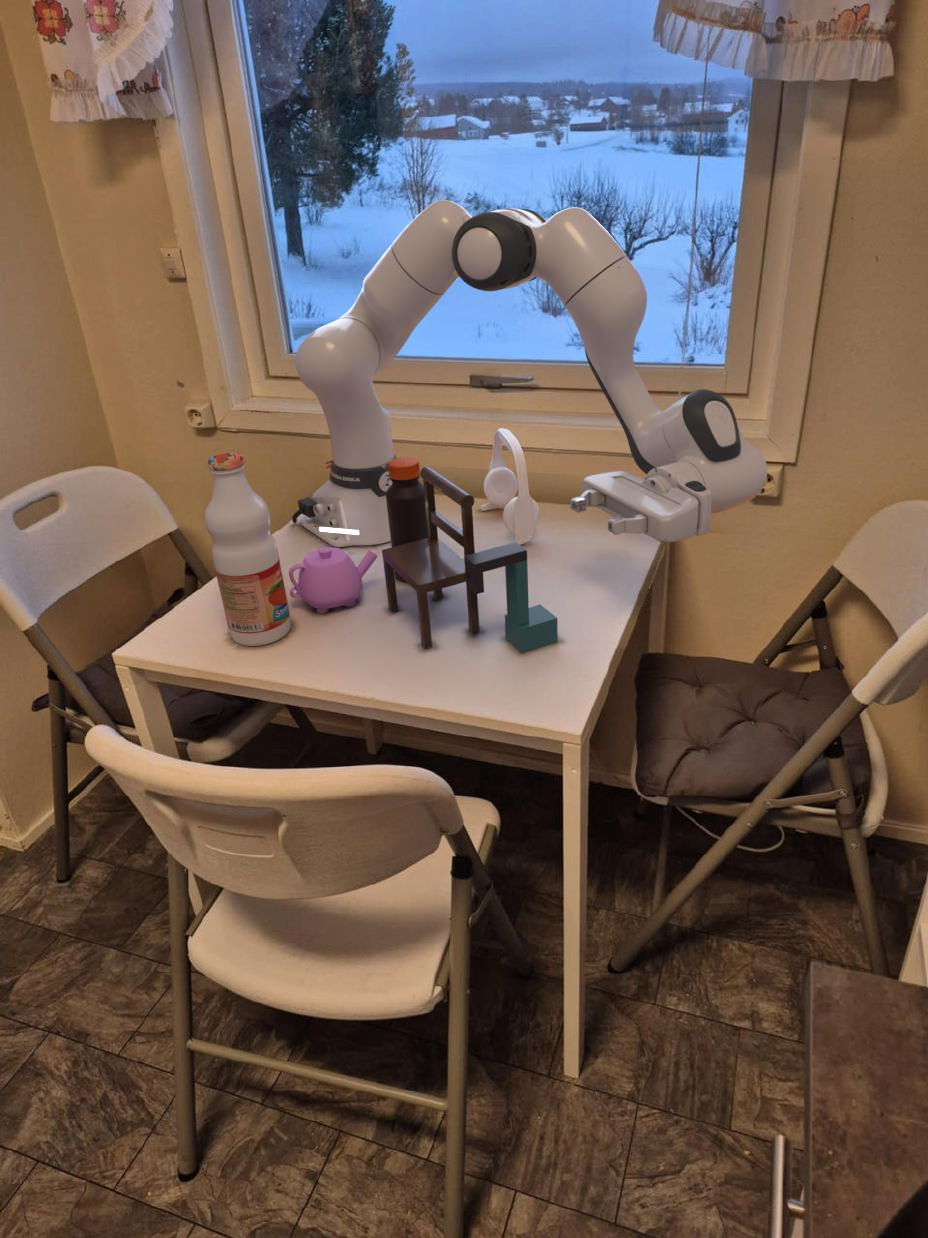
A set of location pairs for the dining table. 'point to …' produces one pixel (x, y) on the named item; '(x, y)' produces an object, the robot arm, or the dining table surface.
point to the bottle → (406, 503)
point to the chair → (434, 556)
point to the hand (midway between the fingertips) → (591, 516)
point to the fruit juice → (245, 556)
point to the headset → (511, 489)
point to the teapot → (329, 578)
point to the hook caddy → (514, 596)
